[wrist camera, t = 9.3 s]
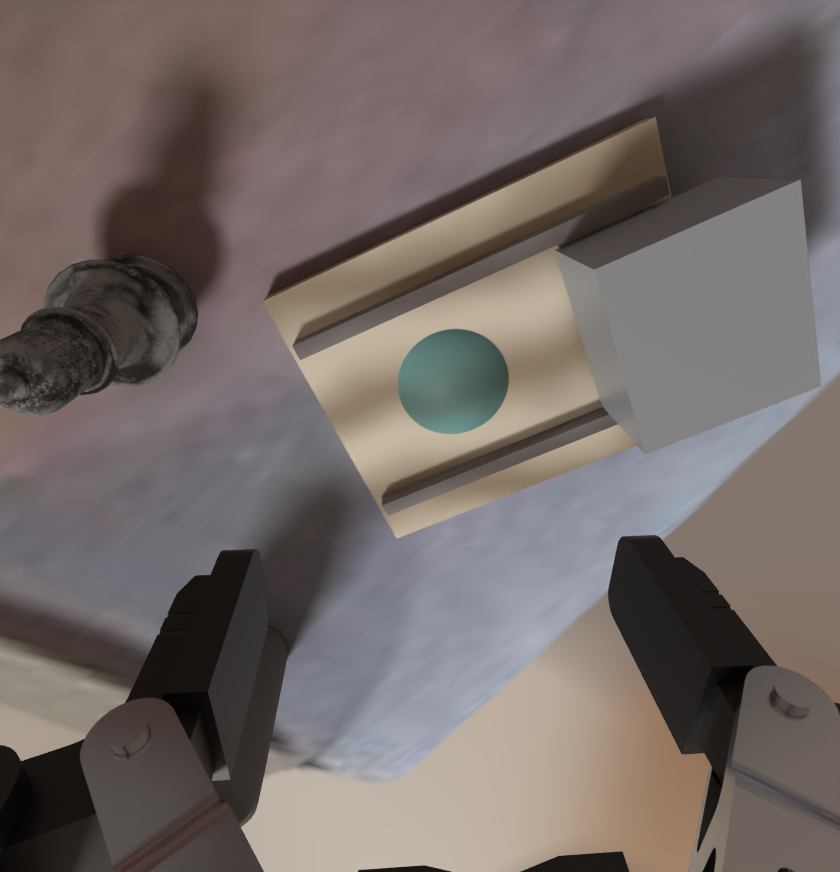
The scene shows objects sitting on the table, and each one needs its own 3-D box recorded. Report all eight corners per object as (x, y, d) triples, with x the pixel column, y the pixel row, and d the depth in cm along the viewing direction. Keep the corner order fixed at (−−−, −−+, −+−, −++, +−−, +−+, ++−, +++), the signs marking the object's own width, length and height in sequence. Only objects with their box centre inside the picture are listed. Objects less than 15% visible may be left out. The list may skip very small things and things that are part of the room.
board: (266, 296, 28) (257, 306, 26) (644, 118, 25) (666, 114, 23) (396, 526, 35) (397, 548, 33) (704, 405, 32) (725, 421, 30)
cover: (554, 249, 26) (594, 269, 21) (718, 176, 25) (800, 179, 20) (601, 406, 30) (645, 454, 25) (746, 347, 29) (821, 386, 24)
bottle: (233, 687, 40) (158, 946, 27) (187, 636, 38) (79, 893, 25) (303, 662, 40) (261, 915, 26) (260, 607, 37) (190, 856, 24)
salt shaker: (114, 222, 26) (-75, 262, 15) (224, 298, 28) (123, 380, 17) (63, 319, 28) (-137, 414, 17) (169, 383, 30) (48, 506, 19)
